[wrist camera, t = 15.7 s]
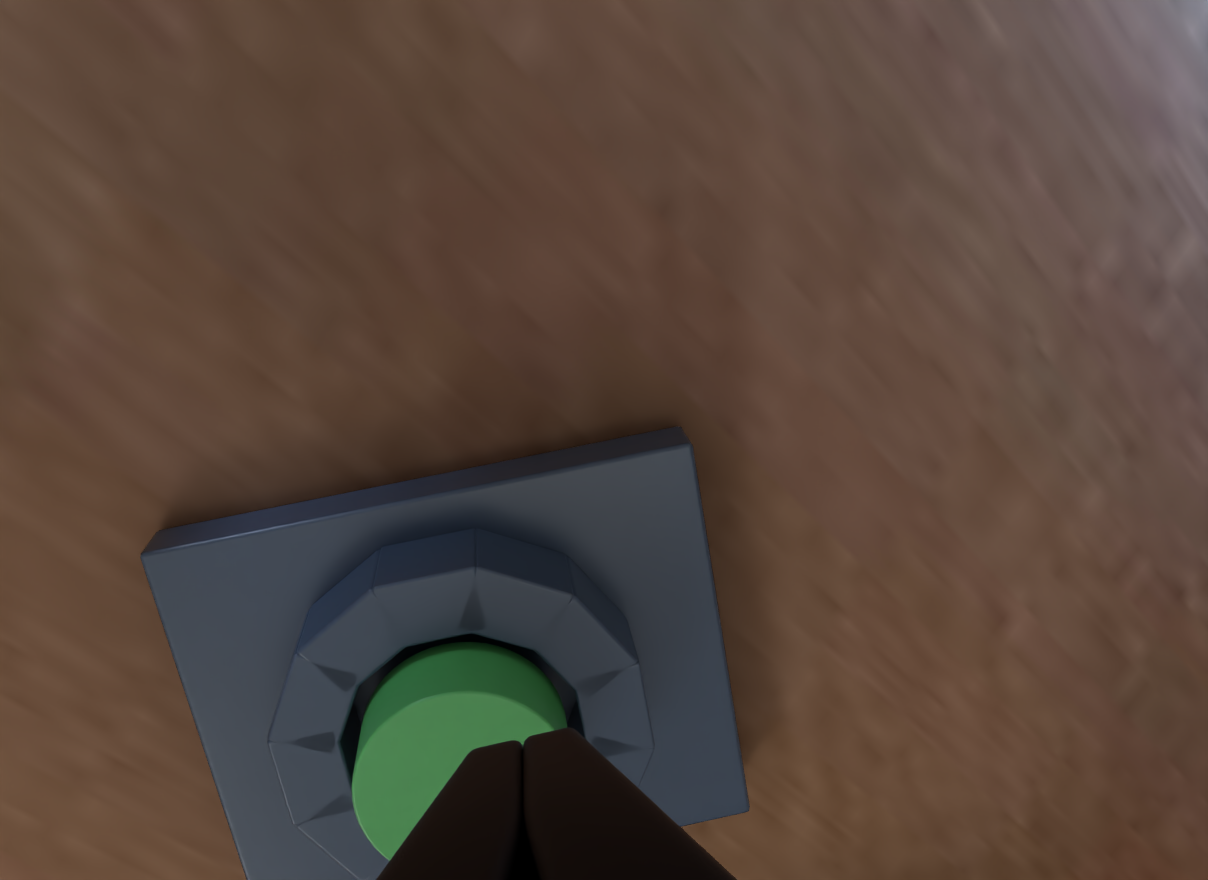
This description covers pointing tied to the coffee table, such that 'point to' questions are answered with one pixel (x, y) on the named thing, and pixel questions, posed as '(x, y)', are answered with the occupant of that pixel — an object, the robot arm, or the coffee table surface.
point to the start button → (441, 729)
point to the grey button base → (451, 631)
